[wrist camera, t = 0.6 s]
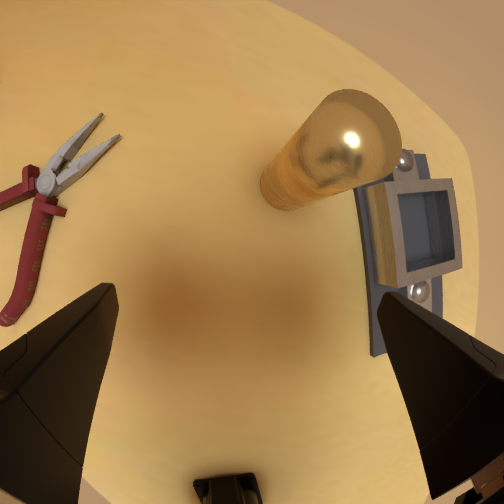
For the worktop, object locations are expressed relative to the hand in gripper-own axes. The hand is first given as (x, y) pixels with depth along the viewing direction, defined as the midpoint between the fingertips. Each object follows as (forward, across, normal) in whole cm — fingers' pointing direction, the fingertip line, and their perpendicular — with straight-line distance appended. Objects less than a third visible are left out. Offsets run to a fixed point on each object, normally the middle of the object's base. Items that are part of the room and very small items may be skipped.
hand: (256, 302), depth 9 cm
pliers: (+13, +18, +4) cm, 22 cm away
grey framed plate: (+13, -16, +4) cm, 20 cm away
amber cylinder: (+15, -4, 0) cm, 15 cm away
